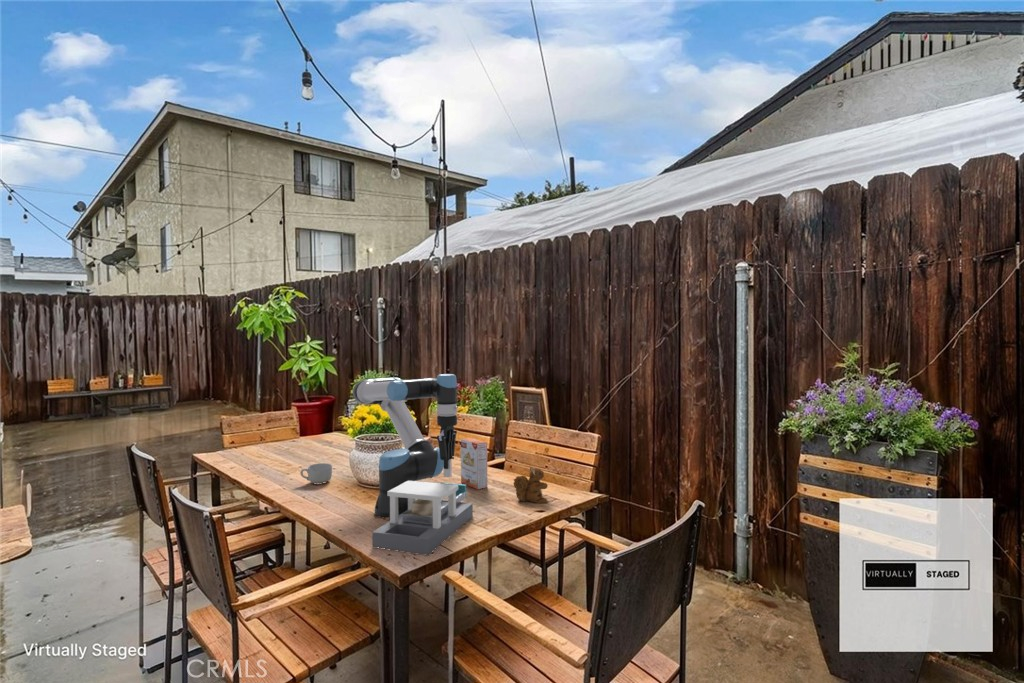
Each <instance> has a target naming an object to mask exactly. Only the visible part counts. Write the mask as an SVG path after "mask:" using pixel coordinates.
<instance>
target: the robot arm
mask: <svg viewBox="0 0 1024 683" xmlns="http://www.w3.org/2000/svg"><path fill="white" fill-rule="evenodd" d="M352 396H353V399H354V400H355V401H356V402H357V403H358V404H361V405H364V406H365V405H366V406H373V405H379V407H380V409H381V410H382V411H384V412H387V415H388V417H389V418H390V421H392V423H393V425H394V427H395V429H396V431H397V433H398V437H399V438H400V441H401V443H402V445H403V447H405V448H402V449H397V448H395V449H390V450H388V451H385V452H384V453H382V454H381V456H380V457H379V460H378V461H379V462H378V479H379V480H378V483H379V484H378V488H379V491H378V496H377V500H376V501H375V502H376V503H375V506H374V515H375V514H376V515H377V517H378V516H380V517H379V518H382V517H384V518H383V519H390V496H387V491H389V490H391V489H393V488H395V487H397V486H399V485H401V484H402V483H404V482H406V481H422V480H426V479H433V478H435V477H437V476H440V475H441V473H442V472H443V474H442V475H443V478H451V477H452V470H453V469H452V468H453V467H452V461H453V460H454V459H455V457H454V456H455V450H456V440H457V439H456V438H457V435H458V434H457V433H458V431H457V430H455V427H454V426H457V425H458V415H457V414H458V407H459V406H457V405H458V382H457V375H456V374H453V373H443V374H441V373H440V374H438V375H437V376H436V378H434V377H425V378H416V379H401V378H399V377H397V376H396V377H393V376H390V377H379V378H377V377H376V378H365V379H362V380H359V381H358V382H357V383H356V384H355V385H354V386H353V389H352ZM429 398H435V399H436V415H437V416H436V417H437V418H436V425H437V426H440V431H439V432H440V434H439V435H437V436H436V439H437V441H438V447H437V446H433V444H432V443H431V442H430V440H428V439H425V438H424V436H423V434H422V432H421V430H420V429H419V427H418V425H417V423H416V421H415V419H414V417H413V415H412V413H411V412H410V410H409V408H408V407H407V405H406V403H405V402H406V400H407V401H408V400H418V399H429ZM406 510H408V498H402V497H398V515H400V514H402V513H403V512H405V511H406ZM376 515H375V516H376Z"/></svg>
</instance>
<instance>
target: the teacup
mask: <svg viewBox="0 0 1024 683" xmlns="http://www.w3.org/2000/svg"><path fill="white" fill-rule="evenodd" d="M304 472H306V473H307V475H304ZM299 473H300V476H301V477H302V478H303V479H306V481H308V482H310V483H312V484H313V483H323V482H327V481H328V482H329V481H331V479H332V476H333V474H332V473H333V465H332V464H330V463H326V462H323V463H321V462H320V463H312V464H310V465H308V466H307V468H305V467H304V468H302V469H301V470H300V472H299ZM328 482H327V483H328Z"/></svg>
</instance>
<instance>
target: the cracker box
mask: <svg viewBox="0 0 1024 683" xmlns="http://www.w3.org/2000/svg"><path fill="white" fill-rule="evenodd" d="M460 484H464V485H466V486H468V487H470V488H472V487H473V489H474V488H475V490H477V489H479V490H482V488H483V489H487V488H488V442H487V441H483V440H480V439H477V438H474V437H464V438H461V439H460Z"/></svg>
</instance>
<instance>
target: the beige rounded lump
mask: <svg viewBox="0 0 1024 683" xmlns="http://www.w3.org/2000/svg"><path fill="white" fill-rule="evenodd" d="M412 514H415V515H423V516H430V515H432V514H433V501H431V500H421V499H416V501H414V502H413V503H412Z"/></svg>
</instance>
